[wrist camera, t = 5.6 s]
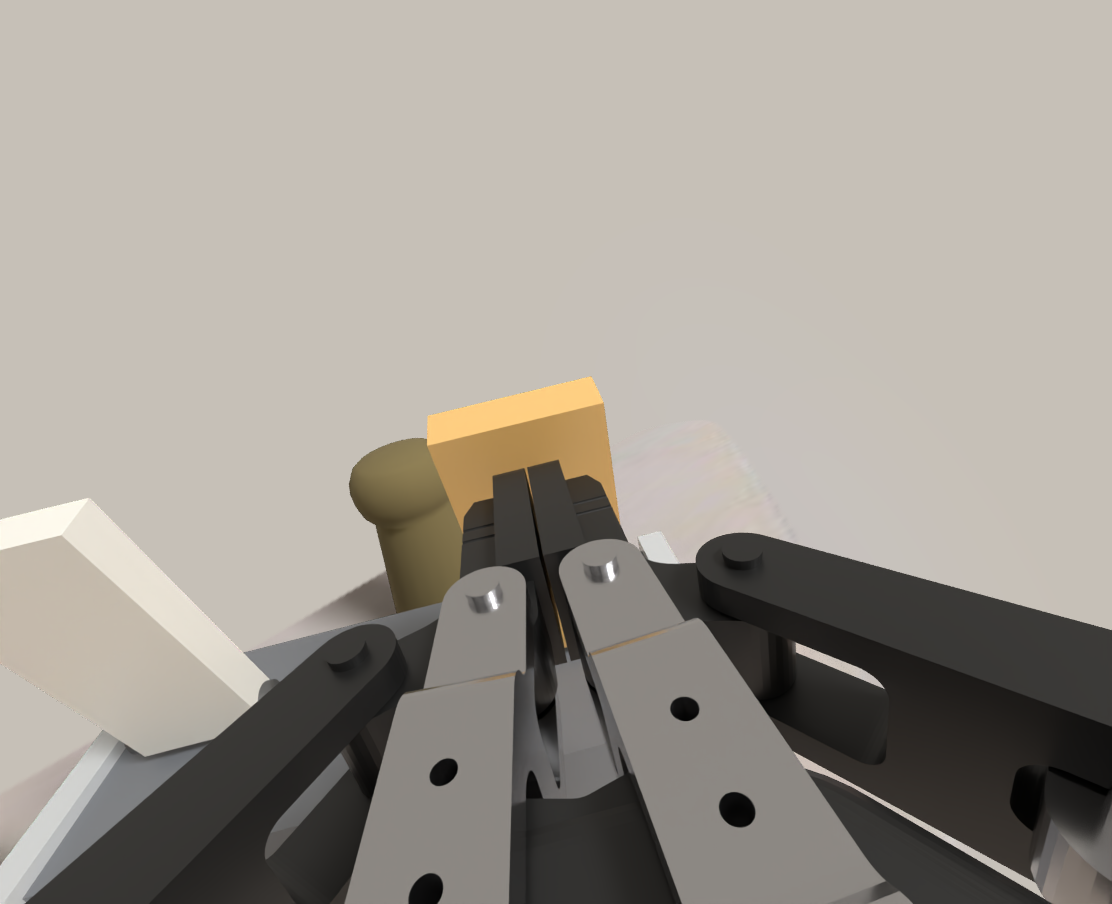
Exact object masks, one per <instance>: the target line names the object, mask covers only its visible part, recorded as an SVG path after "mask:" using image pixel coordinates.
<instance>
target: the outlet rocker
mask: <svg viewBox="0 0 1112 904" xmlns="http://www.w3.org/2000/svg"><path fill="white" fill-rule="evenodd" d="M427 429H428V430H427V447H428V449H429V452H430V454H431V457H432V459H433V462H434V464H435V466H436V469H437V471H438V474H439V476H440V479H441V481H442V484H443V486H444V488H445V491H446V493H447V496H448V498H449V501H450V503H451V506H452V508H453V510H454V513H455V515H456V518H457V520H458V523H459V525H460V528H461V530H462V532H463V521H464V516H465V514H466V513H467V512H468V510H469V509H470V507H471V506H472V505H473V503H474V502H478V501H482V500H486V499H490V498H493V479H492V476H494V475H498V474H502V473H506V472H510V471H514V470H518V469H522V468H524V469H525V472H526V475H527V479H528V483H529V487H530V490H531V486H530V481H529V476H528V470H527V467H530V466H534V465H538V464H542V463H546V462H550V461H555V460H559V463H560V466H561V469H562V472H563V475H564V478H565V480H567V479H571V478H575V477H579V476H583V475H588V476H590V477H592V478H593V479H595V480H597V481H599V482H600V483H601V484H602V486H603V489H604V491H605V493H606V496H607V497H608V499H609V502H610V504H611V507H612V508H613V510H614V512H615V515H616V517H617V519H618V521H619V523H620V520H619V512H618V505H617V498H616V490H615V483H614V475H613V468H612V461H611V453H610V446H609V439H608V431H607V424H606V417H605V409H604V402H603V400H602V398H601V396H600V394H599V392H598V389H597V387H596V385H595V383H594V381H593V379H592V377H586V378H582V379H578V380H574V381H570V382H566V383H562V384H558V385H553V386H549V387H545V388H541V389H537V390H533V391H529V392H524V393H520V394H516V395H512V396H508V397H504V398H500V399H496V400H491V401H488V402H483V403H479V404H475V405H471V406H467V407H462V408H458V409H455V410H450V411H446V412H442V413H438V414H434V415H430V416H428V426H427ZM531 494H532V492H531ZM532 498H533V497H532ZM557 612H558V610H557ZM558 617H559V614H558ZM559 622H560V627H561V632H562V637H563V642H564V648H566V647H567V644H566V640H565V637H564V633H563V629H562V625H561V621H560V618H559Z"/></svg>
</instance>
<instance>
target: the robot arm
mask: <svg viewBox="0 0 1112 904" xmlns="http://www.w3.org/2000/svg"><path fill="white" fill-rule="evenodd" d="M527 470H528V476H529V481H530V486H531V490H530V487H529V483H528V479H527V475H526V472H525V469H524V468H522V469H518V470H514V471H510V472H506V473H502V474H498V475H494V476H492V479H493V498H490V499H486V500H482V501H478V502H474V503H473V505H472V506H471V507H470V509H469V510H468V512H467V513H466V514H465V516H464V521H463V536H462V543H463V545H462V551H461V567H460V580H458V581H457V582H456V583H455V584H453V585H452V586H451V587H450V589H449V590H448V591H447V593H446V594H445V596H444V599H443V602H442V606H441V611H440V615H439V618H438V619H437V620H435V621H434V622H432V623H431V624H429V625H427V626H425V627H424V628H422V629H420V630H418V631H416V632H413V633H411V634H409V635H407V636H405V637H403V638H401V639H399V640H397V639H396V636H395V634H394V632H393V631H392V630H391V629H390V628H389V627H387V626H384V625H380V624H365V625H361V626H357V627H354V628H351V629H348V630H346V631H344V632H342V633H340V634H338V635H336V636H334V637H333V638H331V639H330V640H328V641H327V642H326V643H325V644H323V645H322V646H321V647H320V648H318V649H317V650H316V651H315V652H314V653H313V654H312V655H310V656H309V657H308V658H307V659H306V660H305V661H303V662H302V663H301V664H300V665H299V666H298V667H297V668H295V669H294V670H293V671H292V672H291V673H290V674H288V675H287V676H286V677H285V678H284V679H283V680H282V681H280V682H279V683H278V684H277V685H276V686H275V687H274V688H272V689H271V690H270V691H269V692H268V693H267V694H265V695H264V696H263V697H262V698H261V699H260V700H259V701H257V702H256V703H255V704H254V705H253V706H252V707H250V708H249V709H248V710H247V711H246V712H245V713H244V714H242V715H241V716H240V717H239V718H238V719H237V720H235V721H234V722H233V723H232V724H231V725H230V726H229V727H227V728H226V729H225V730H224V731H223V732H222V733H221V734H219V735H218V736H217V737H216V738H215V739H214V740H212V741H211V742H210V743H209V744H208V745H207V746H206V747H204V748H203V749H202V750H201V751H200V752H199V753H197V754H196V755H195V756H194V757H193V758H192V759H191V760H189V761H188V762H187V763H186V764H185V765H184V766H182V767H181V768H180V769H179V770H178V771H177V772H176V773H174V774H173V775H172V776H171V777H170V778H169V779H167V780H166V781H165V782H164V783H163V784H162V785H161V786H159V787H158V788H157V789H156V790H155V791H154V792H153V793H151V794H150V795H149V796H148V797H147V798H146V799H144V800H143V801H142V802H141V803H140V804H139V805H138V806H136V807H135V808H134V809H133V810H132V811H131V812H129V813H128V814H127V815H126V816H125V817H124V818H123V819H121V820H120V821H119V822H118V823H117V824H116V825H114V826H113V827H112V828H111V829H110V830H109V831H108V832H106V833H105V834H104V835H103V836H102V837H101V838H99V839H98V840H97V841H96V842H95V843H94V844H93V845H91V846H90V847H89V848H88V849H87V850H86V851H85V852H83V853H82V854H81V855H80V856H79V857H78V858H76V859H75V860H74V861H73V862H72V863H71V864H70V865H68V866H67V867H66V868H65V869H64V870H63V871H61V872H60V873H59V874H58V875H57V876H56V877H55V878H53V879H52V880H51V881H50V882H49V883H48V884H46V885H45V886H44V887H43V888H42V889H41V890H40V891H38V892H37V893H36V894H35V895H34V896H33V897H32V898H30V899H29V900H28V901H27V902H26V903H25V904H1112V630H1109V629H1105V628H1102V627H1098V626H1094V625H1091V624H1087V623H1083V622H1080V621H1076V620H1072V619H1069V618H1064V617H1061V616H1057V615H1053V614H1050V613H1046V612H1042V611H1039V610H1036V609H1032V608H1028V607H1024V606H1021V605H1017V604H1014V603H1010V602H1006V601H1003V600H999V599H995V598H991V597H988V596H984V595H980V594H977V593H973V592H969V591H965V590H962V589H958V588H955V587H951V586H947V585H944V584H940V583H936V582H932V581H929V580H925V579H921V578H918V577H914V576H911V575H907V574H903V573H900V572H896V571H892V570H889V569H885V568H881V567H878V566H874V565H870V564H866V563H863V562H859V561H856V560H852V559H848V558H845V557H841V556H837V555H834V554H830V553H826V552H823V551H819V550H815V549H812V548H808V547H804V546H801V545H797V544H793V543H790V542H786V541H782V540H779V539H775V538H771V537H768V536H764V535H760V534H754V533H732V534H726V535H722V536H719V537H716V538H714V539H712V540H710V541H708V542H707V543H705V544H704V545H703V546H702V547H701V548H700V549H699V551H698V553H697V555H696V563H684V564H667V563H659V562H654V561H651V560H648V559H645V558H644V556H643V555H642V553H641V552H640V550H639V549H638V548H637V547H635V546H634V545H633V544H631V543H629V542H628V541H627V538H626V536H625V534H624V532H623V530H622V528H621V525H620V523H619V521H618V519H617V517H616V515H615V512H614V510H613V508H612V507H611V504H610V502H609V499H608V497H607V496H606V493H605V491H604V489H603V486H602V484H601V483H600V482H599V481H597V480H595V479H593V478H592V477H590V476H588V475H583V476H579V477H575V478H571V479H567V480H565V478H564V475H563V472H562V469H561V466H560V463H559V460H555V461H550V462H546V463H542V464H538V465H534V466H530V467H527ZM531 492H532V494H531ZM532 497H533V498H532ZM557 610H558V612H557ZM558 614H559V617H558ZM559 618H560V621H561V625H562V629H563V633H564V637H565V640H566V644H567V648H568V652H569V656H570V660H571V661H574V660H578V659H581V663H582V667H583V671H584V674H585V678H586V682H587V686H588V690H589V694H590V698H591V701H592V704H593V707H594V710H595V713H596V716H597V720H598V723H599V726H600V729H601V732H602V735H603V738H604V741H605V744H606V747H607V750H608V753H609V756H610V759H611V762H612V765H613V768H614V772H615V775H616V778H617V779H616V780H614V781H612V782H610V783H608V784H607V785H605V786H603V787H601V788H600V789H598V790H596V791H594V792H592V793H591V794H589V795H586V796H584V797H580V798H573V799H567V791H566V777H565V763H564V748H563V734H562V720H561V706H560V700H559V697H558V693H557V687H558V680H557V674H556V668H555V665H559V664H563V663H567V658H566V653H565V648H564V642H563V637H562V632H561V627H560V622H559ZM795 642H796V643H799V644H801V645H804V646H806V647H809V648H811V649H814V650H816V651H819V652H821V653H824V654H826V655H829V656H831V657H834V658H836V659H839V660H841V661H844V662H846V663H849V664H851V665H854V666H856V667H859V668H861V669H863V670H865V671H866V672H868V673H870V674H871V675H872V676H874V677H875V678H876V679H877V680H878V681H879V682H880V683H881V684H882V685H883V687H884V688H885V689H883V688H881V687H878V686H876V685H873V684H871V683H869V682H866V681H864V680H861V679H859V678H856V677H854V676H852V675H849V674H847V673H844V672H842V671H839V670H837V669H835V668H832V667H830V666H827V665H825V664H823V663H820V662H818V661H815V660H813V659H810V658H808V657H806V656H803V655H801V654H798V653H796V643H795ZM793 751H794V752H795V753H797V754H799V755H801V756H803V757H805V758H807V759H808V760H810V761H812V762H814V763H816V764H818V765H819V766H821V767H823V768H825V769H827V770H829V771H831V772H832V773H834V774H836V775H838V776H840V777H842V778H843V779H845V780H847V781H849V782H851V783H853V784H855V785H856V786H858V787H860V788H862V789H864V790H866V791H867V792H869V793H871V794H873V795H875V796H877V797H879V798H880V799H882V800H884V801H886V802H888V803H890V804H891V805H893V806H895V807H897V808H899V809H901V810H903V811H904V812H906V813H908V814H910V815H912V816H914V817H915V818H917V819H919V820H921V821H923V822H925V823H927V824H928V825H930V826H932V827H934V828H936V829H938V830H939V831H941V832H943V833H945V834H947V835H949V836H951V837H952V838H954V839H956V840H958V841H960V842H962V843H963V844H965V845H967V846H969V847H971V848H973V849H975V850H976V851H978V852H980V853H982V854H984V855H986V856H987V857H989V858H991V859H993V860H995V861H997V862H998V863H1000V864H1002V865H1004V866H1006V867H1008V868H1010V869H1012V870H1013V871H1015V872H1017V873H1019V874H1021V875H1023V876H1024V877H1026V878H1028V879H1030V880H1032V881H1034V882H1035V883H1036V884H1037V886H1038V888H1039V890H1040V892H1041V894H1042V895H1043V897H1044V898H1045V899H1044V898H1042V897H1040V896H1038V895H1037V894H1035V893H1033V892H1032V891H1030V890H1028V889H1026V888H1024V887H1023V886H1021V885H1020V884H1018V883H1016V882H1014V881H1012V880H1011V879H1009V878H1008V877H1006V876H1004V875H1002V874H1001V873H999V872H997V871H995V870H994V869H992V868H990V867H989V866H987V865H985V864H983V863H982V862H980V861H978V860H977V859H975V858H973V857H971V856H970V855H968V854H966V853H965V852H963V851H961V850H959V849H958V848H956V847H954V846H953V845H951V844H949V843H947V842H946V841H944V840H942V839H940V838H939V837H937V836H935V835H934V834H932V833H930V832H928V831H927V830H925V829H923V828H922V827H920V826H918V825H916V824H915V823H913V822H911V821H910V820H908V819H906V818H904V817H903V816H901V815H899V814H898V813H896V812H894V811H892V810H891V809H889V808H887V807H885V806H884V805H882V804H880V803H879V802H877V801H875V800H873V799H872V798H870V797H868V796H867V795H865V794H863V793H861V792H859V791H858V790H856V789H854V788H852V787H850V786H848V785H846V784H844V783H841V782H839V781H837V780H835V779H832V778H830V777H828V776H825V775H822V774H819V773H816V772H813V771H811V770H808V769H804V767H803V766H802V764H801V763H800V761H799V760H798V758H797V757H796V755H795V754H794V752H793ZM340 753H341V754H342V756H343V758H344V760H345V761H346V763H347V765H348V767H349V769H348V771H347V772H346V773H345V774H344V775H343V776H342V777H341V778H340V780H339V781H338V782H337V783H336V784H335V785H334V786H333V787H332V789H331V790H330V791H329V792H328V793H327V794H326V795H325V796H324V798H323V799H322V800H321V801H320V802H319V803H318V804H317V805H316V807H315V808H314V809H313V810H312V811H311V812H310V813H309V814H308V816H307V817H306V818H305V819H304V820H303V821H302V822H301V823H300V825H299V826H298V827H297V828H296V829H295V830H294V831H293V832H292V834H291V835H290V836H289V837H288V838H287V839H286V840H285V841H284V843H283V844H282V845H281V846H280V847H279V848H278V849H277V850H276V851H275V852H274V853H273V854H272V855H271V856H270V857H269V858H267V859H265V847H266V843H267V840H268V837H269V835H270V832H271V831H272V829H273V827H274V826H275V824H276V823H277V821H278V820H279V819H280V818H281V816H282V815H283V814H284V813H285V812H286V811H287V810H288V809H289V808H290V807H291V805H292V804H293V803H294V802H295V801H296V800H297V799H298V798H299V797H300V796H301V795H302V794H303V793H304V791H305V790H306V789H307V788H308V787H309V786H310V785H311V784H312V783H313V782H314V781H315V780H316V778H317V777H318V776H319V775H320V774H321V773H322V772H323V771H324V770H325V769H326V768H327V767H328V766H329V764H330V763H331V762H332V761H333V760H334V759H335V758H336V757H337V756H338V755H339V754H340Z"/></svg>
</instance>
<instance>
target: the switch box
mask: <svg viewBox="0 0 1112 904" xmlns="http://www.w3.org/2000/svg"><path fill="white" fill-rule="evenodd" d="M637 538H638V543H639V549H640V552H641V553H642V555H643V556H644V558H645V559H648V560H651V561H654V562H659V563H667V564H680V563H679V561H678V559H677V558H676V556H675V554H674V553H673V551H672V549H671V548H670V546H669V544H668V543H667V541H666V539H665V537H664V536H663V534H662V532H661V531H658V532H654V533H650V534H646V535H642V536H638V537H637ZM441 606H442V602H441V603H437V604H433V605H429V606H425V607H421V608H417V609H413V610H409V611H406V612H402V613H398V614H394V615H390V616H386V617H382V618H378V619H374V620H370V621H366V622H362V623H358V624H354V625H351V626H347V627H343V628H339V629H335V630H331V631H327V632H323V633H319V634H315V635H311V636H307V637H303V638H299V639H296V640H292V641H288V642H284V643H280V644H276V645H272V646H268V647H264V648H260V649H256V650H252V651H248V652H244V654H245V655H246V656H247V657H248V658H249V659H250V660H251V661H252V662H253V663H254V664H255V665H256V666H257V667H258V668H259V669H260V670H261V671H262V672H263V673H264V674H265V675H266V676H267V677H268V678H269V679H270V680H271V679H277V680H278V681H279V682H280V681H282V680H283V679H284V678H285V677H286V676H287V675H288V674H290V673H291V672H292V671H293V670H294V669H295V668H297V667H298V666H299V665H300V664H301V663H302V662H303V661H305V660H306V659H307V658H308V657H309V656H310V655H312V654H313V653H314V652H315V651H316V650H317V649H318V648H320V647H321V646H322V645H323V644H325V643H326V642H327V641H328V640H330V639H331V638H333V637H334V636H336V635H338V634H340V633H342V632H344V631H346V630H348V629H351V628H354V627H357V626H361V625H365V624H380V625H384V626H387V627H389V628H390V629H391V630H392V631H393V632H394V634H395V636H396V639H397V640H399V639H401V638H403V637H405V636H407V635H409V634H411V633H413V632H416V631H418V630H420V629H422V628H424V627H425V626H427V625H429V624H431V623H432V622H434V621H435V620H437V619H438V618H439V615H440V611H441ZM565 653H566V658H567V663H563V664H559V665H555V668H556V674H557V680H558V687H557V693H558V697H559V700H560V706H561V720H562V734H563V748H564V763H565V777H566V791H567V799H573V798H580V797H584V796H586V795H589V794H591V793H592V792H594V791H596V790H598V789H600V788H601V787H603V786H605V785H607V784H608V783H610V782H612V781H614V780H616V779H617V778H616V775H615V772H614V768H613V765H612V762H611V759H610V756H609V753H608V750H607V747H606V744H605V741H604V738H603V735H602V732H601V729H600V726H599V723H598V720H597V716H596V713H595V710H594V707H593V704H592V701H591V698H590V694H589V690H588V686H587V682H586V678H585V674H584V671H583V667H582V663H581V659H578V660H574V661H571V660H570V656H569V652H568V648H567V647H566V648H565ZM212 740H214V739H211V740H208V741H204V742H200V743H196V744H192V745H188V746H184V747H181V748H177V749H173V750H169V751H165V752H161V753H157V754H154V755H150V756H146V757H145V756H143V755H142V754H137V755H134V754H131V753H130V752H128V750H127V749H126V747H125V744H124V743H123V742H121V741H120V740H118V739H117V738H115V737H114V736H112V735H110V734H109V733H107V732H106V731H104V730H102V732H101V733H100V734H99V736H98V737H97V738H96V740H95V741H94V742H93V744H92V745H91V746H90V748H89V749H88V750H87V751H86V753H85V754H84V755H83V757H82V758H81V759H80V761H79V762H78V763H77V765H76V766H75V767H74V769H73V770H72V771H71V773H70V774H69V775H68V777H67V778H66V779H65V781H64V782H63V783H62V785H61V786H60V787H59V789H58V790H57V791H56V792H55V794H54V795H53V796H52V798H51V799H50V800H49V802H48V803H47V804H46V806H45V807H44V808H43V810H42V811H41V812H40V814H39V815H38V816H37V818H36V819H35V820H34V822H33V823H32V824H31V826H30V827H29V828H28V830H27V831H26V832H25V833H24V835H23V836H22V837H21V839H20V840H19V841H18V843H17V844H16V845H15V847H14V848H13V849H12V851H11V852H10V853H9V855H8V856H7V857H6V859H5V860H4V861H3V863H2V864H1V865H0V904H25V903H26V902H27V901H28V900H29V899H30V898H32V897H33V896H34V895H35V894H36V893H37V892H38V891H40V890H41V889H42V888H43V887H44V886H45V885H46V884H48V883H49V882H50V881H51V880H52V879H53V878H55V877H56V876H57V875H58V874H59V873H60V872H61V871H63V870H64V869H65V868H66V867H67V866H68V865H70V864H71V863H72V862H73V861H74V860H75V859H76V858H78V857H79V856H80V855H81V854H82V853H83V852H85V851H86V850H87V849H88V848H89V847H90V846H91V845H93V844H94V843H95V842H96V841H97V840H98V839H99V838H101V837H102V836H103V835H104V834H105V833H106V832H108V831H109V830H110V829H111V828H112V827H113V826H114V825H116V824H117V823H118V822H119V821H120V820H121V819H123V818H124V817H125V816H126V815H127V814H128V813H129V812H131V811H132V810H133V809H134V808H135V807H136V806H138V805H139V804H140V803H141V802H142V801H143V800H144V799H146V798H147V797H148V796H149V795H150V794H151V793H153V792H154V791H155V790H156V789H157V788H158V787H159V786H161V785H162V784H163V783H164V782H165V781H166V780H167V779H169V778H170V777H171V776H172V775H173V774H174V773H176V772H177V771H178V770H179V769H180V768H181V767H182V766H184V765H185V764H186V763H187V762H188V761H189V760H191V759H192V758H193V757H194V756H195V755H196V754H197V753H199V752H200V751H201V750H202V749H203V748H204V747H206V746H207V745H208V744H209V743H210V742H211V741H212ZM348 769H349V767H348V765H347V763H346V761H345V760H344V758H343V756H342V754H341V753H340V754H339V755H338V756H337V757H336V758H335V759H334V760H333V761H332V762H331V763H330V764H329V766H328V767H327V768H326V769H325V770H324V771H323V772H322V773H321V774H320V775H319V776H318V777H317V778H316V780H315V781H314V782H313V783H312V784H311V785H310V786H309V787H308V788H307V789H306V790H305V791H304V793H303V794H302V795H301V796H300V797H299V798H298V799H297V800H296V801H295V802H294V803H293V804H292V805H291V807H290V808H289V809H288V810H287V811H286V812H285V813H284V814H283V815H282V816H281V818H280V819H279V820H278V821H277V823H276V824H275V826H274V827H273V829H272V831H271V832H270V835H269V837H268V840H267V843H266V847H265V859H267V858H269V857H270V856H271V855H272V854H273V853H274V852H275V851H276V850H277V849H278V848H279V847H280V846H281V845H282V844H283V843H284V841H285V840H286V839H287V838H288V837H289V836H290V835H291V834H292V832H293V831H294V830H295V829H296V828H297V827H298V826H299V825H300V823H301V822H302V821H303V820H304V819H305V818H306V817H307V816H308V814H309V813H310V812H311V811H312V810H313V809H314V808H315V807H316V805H317V804H318V803H319V802H320V801H321V800H322V799H323V798H324V796H325V795H326V794H327V793H328V792H329V791H330V790H331V789H332V787H333V786H334V785H335V784H336V783H337V782H338V781H339V780H340V778H341V777H342V776H343V775H344V774H345V773H346V772H347V771H348Z"/></svg>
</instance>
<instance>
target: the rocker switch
mask: <svg viewBox="0 0 1112 904" xmlns="http://www.w3.org/2000/svg"><path fill="white" fill-rule="evenodd" d="M0 664H1V665H3V666H4V667H6V668H8V669H9V670H11V671H12V672H14V673H15V674H17V675H19V676H20V677H22V678H23V679H25V680H26V681H28V682H30V683H31V684H33V685H34V686H36V687H37V688H39V689H40V690H42V691H43V692H45V693H47V694H49V695H50V696H51V697H53V698H54V699H56V700H57V701H59V702H61V703H62V704H64V705H65V706H67V707H68V708H70V709H72V710H73V711H75V712H76V713H78V714H79V715H81V716H83V717H84V718H86V719H87V720H89V721H90V722H92V723H93V724H95V725H96V726H98V727H100V728H101V729H103V730H104V731H106V732H107V733H109V734H110V735H112V736H114V737H115V738H117V739H118V740H120V741H121V742H123V743H124V744H125V747H126V749H127V750H128V752H130V753H131V754H134V755H137V754H142V755H143V756H145V757H146V756H150V755H154V754H157V753H161V752H165V751H169V750H173V749H177V748H181V747H184V746H188V745H192V744H196V743H200V742H204V741H208V740H211V739H215V738H216V737H217V736H218V735H219V734H221V733H222V732H223V731H224V730H225V729H226V728H227V727H229V726H230V725H231V724H232V723H233V722H234V721H235V720H237V719H238V718H239V717H240V716H241V715H242V714H244V713H245V712H246V711H247V710H248V709H249V708H250V707H252V706H253V705H254V704H255V703H256V702H257V701H259V700H260V699H261V698H262V697H263V696H264V695H265V694H267V693H268V692H269V691H270V690H271V689H272V688H274V687H275V686H276V685H277V684H278V683H279V681H278V680H277V679H271V680H270V679H269V678H268V677H267V676H266V675H265V674H264V673H263V672H262V671H261V670H260V669H259V668H258V667H257V666H256V665H255V664H254V663H253V662H252V661H251V660H250V659H249V658H248V657H247V656H246V655H245V654H244V653H243V652H242V651H241V650H240V649H239V648H238V647H237V646H236V645H235V644H234V643H233V642H232V641H231V640H230V639H229V638H228V637H227V636H226V635H225V634H224V633H223V632H222V631H221V630H220V629H219V628H218V627H217V626H216V625H215V624H214V623H213V622H212V621H211V620H210V619H209V618H208V617H207V616H206V615H205V614H204V613H203V612H202V611H201V610H200V609H199V608H198V607H197V606H196V605H195V604H194V603H193V602H192V601H191V600H190V599H189V598H188V597H187V596H186V595H185V594H184V593H183V592H182V591H181V590H180V589H179V588H178V587H177V586H176V584H174V582H173V581H172V580H171V579H170V578H169V577H167V575H165V573H164V572H163V571H162V570H161V569H160V568H159V567H158V566H157V565H156V564H155V563H154V562H153V561H152V560H151V559H150V558H149V557H148V556H147V555H146V554H145V553H144V552H143V551H142V550H141V549H140V548H139V547H138V546H137V545H136V544H135V543H134V542H133V541H132V540H131V539H130V538H129V537H128V536H127V535H126V534H125V533H124V532H123V531H122V530H121V529H120V528H119V527H118V526H117V525H116V524H115V523H114V522H113V521H112V520H111V519H110V518H109V517H108V516H107V515H106V514H105V513H104V512H103V511H102V510H101V509H100V508H99V507H98V506H97V505H96V504H95V503H94V502H93V501H92V500H91V499H90V498H87V499H83V500H78V501H74V502H70V503H66V504H62V505H58V506H54V507H50V508H45V509H42V510H37V511H33V512H29V513H25V514H21V515H17V516H12V517H8V518H4V519H0Z"/></svg>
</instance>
